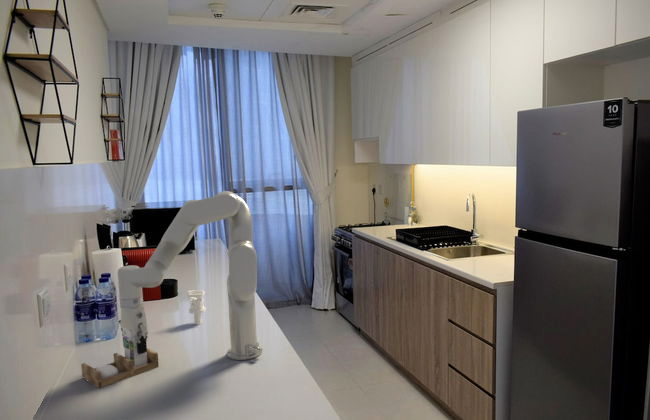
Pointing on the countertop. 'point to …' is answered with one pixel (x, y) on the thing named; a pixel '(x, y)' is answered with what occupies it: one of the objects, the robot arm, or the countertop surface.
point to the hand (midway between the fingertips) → (135, 349)
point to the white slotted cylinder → (196, 305)
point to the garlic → (107, 371)
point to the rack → (122, 365)
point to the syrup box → (133, 349)
